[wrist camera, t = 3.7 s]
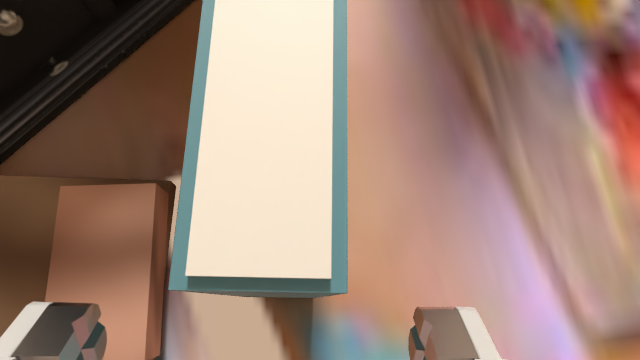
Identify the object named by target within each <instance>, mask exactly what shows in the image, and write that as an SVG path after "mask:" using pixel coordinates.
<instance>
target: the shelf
mask: <svg viewBox="0 0 640 360" xmlns="http://www.w3.org/2000/svg"><path fill="white" fill-rule="evenodd" d="M175 190H176V186H175V185H174V184H173V183H172V182H171V181H157V180H127V179H97V178H68V177H38V176H8V175H0V337H1V336H2V335H3V334H4V332H5V331H6V330H7V329H8V327H9V326H10V325H11V324H12V322H13V321H14V320H15V319H16V317H17V316H18V315H19V314H20V313H21V311H22V310H23V309H24V308H25V306H26V305H28V304H30V303H31V302H70V303H94V304H98V305H99V308H100V311H101V316H100V318H99V320H98V322H100V323H101V324H102V325H103V326H105V329H106V333H107V345H106V349H105V353H104V356H103V358H102V360H155V357H156V356H159V355H160V345H161V327H162V308H163V290H164V280H165V272H166V264H167V256H168V248H169V240H170V232H171V223H172V215H173V207H174V199H175Z"/></svg>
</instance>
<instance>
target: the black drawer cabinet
mask: <svg viewBox="0 0 640 360" xmlns="http://www.w3.org/2000/svg"><path fill="white" fill-rule="evenodd" d="M192 1H193V0H0V164H1V163H2V162H4V161H5V160H6V159H7V158H8V157H9V156H10V155H12V154H13V153H14V152H15V151H16V150H17V149H19V148H20V147H21V146H22V145H24V144H25V143H26V142H27V141H28V140H29V139H30V138H31V137H33V136H34V135H35V134H36V133H37V132H39V131H40V130H41V129H42V128H43V127H44V126H45V125H46V124H48V123H49V122H50V121H52V120H53V119H54V118H55V117H56V116H57V115H58V114H59V113H61V112H62V111H63V110H65V109H66V108H67V107H68V106H69V105H71V104H72V103H73V101H75V100H76V99H77V98H79V97H80V96H81V95H82V94H84V93H85V92H86V91H87V90H88V89H89V88H91V87H92V86H93V85H94V84H95V83H97V82H98V81H99V80H100V79H101V78H102V77H104V76H105V75H106V74H107V73H108V72H109V71H111V70H112V69H113V68H114V67H115V66H116V65H118V64H119V63H120V62H121V61H123V60H124V59H125V58H127V57H128V56H129V55H130V54H131V53H132V52H133V51H134V50H135V49H137V48H138V47H139V46H140V45H142V44H143V43H144V42H145V41H146V40H147V39H149V38H150V37H151V36H152V35H153V34H154V33H156V32H157V31H158V30H159V29H161V28H162V27H163V26H164V25H165V24H166V23H167V22H169V20H171V19H172V18H173V17H174V16H175V15H177V14H178V13H179V12H181V11H182V10H183V9H184V8H185V7H186V6H188V5H189V4H190V3H191V2H192Z"/></svg>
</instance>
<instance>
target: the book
mask: <svg viewBox="0 0 640 360" xmlns="http://www.w3.org/2000/svg"><path fill="white" fill-rule="evenodd" d="M168 290H176V291H187V292H198V293H209V294H220V295H231V296H242V297H281V298H317V297H324V296H331V295H338V294H345V293H348V233H347V0H203V3H202V11H201V20H200V28H199V36H198V45H197V53H196V61H195V70H194V78H193V86H192V95H191V103H190V111H189V120H188V128H187V137H186V145H185V153H184V162H183V170H182V178H181V187H180V196H179V204H178V212H177V220H176V229H175V237H174V245H173V254H172V262H171V270H170V279H169V287H168Z"/></svg>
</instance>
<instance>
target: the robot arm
mask: <svg viewBox="0 0 640 360" xmlns="http://www.w3.org/2000/svg"><path fill="white" fill-rule="evenodd" d="M100 316H101V311H100V308H99V305H98V304H94V303H70V302H31V303H30V304H28V305H26V306H25V308H24V309H23V310H22V311H21V313H20V314H19V315H18V316H17V317H16V319H15V320H14V321H13V322H12V324H11V325H10V326H9V327H8V329H7V330H6V331H5V332H4V334H3V335H2V336H1V337H0V360H102V358H103V356H104V353H105V349H106V345H107V333H106V329H105V326H103V325H102V324H101V323H100V322H98V320H99V318H100ZM413 319H414V322H415V326H414V327H413V328H411V329H410V334H409V355H410V360H508V359H502V358H501V356H500V355H499V353H498V351H497V349H496V347H495V345H494V343H493V341H492V339H491V337H490V335H489V333H488V331H487V329H486V327H485V325H484V323H483V321H482V319H481V318H480V316H479V314H478V312H477V310H476V309H475V308H474V307H417V308H416V309H415V312H414V316H413Z"/></svg>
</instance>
